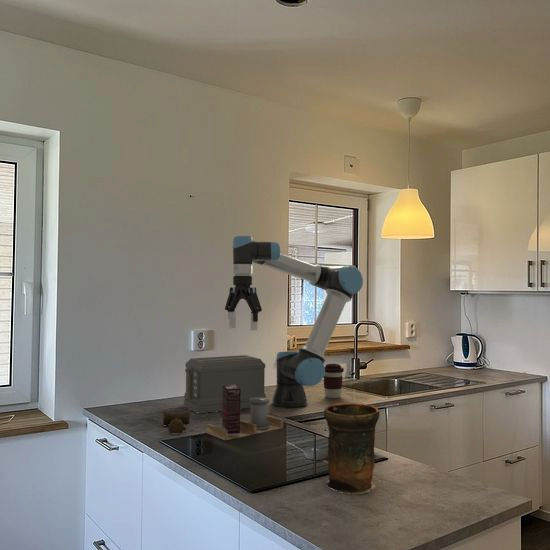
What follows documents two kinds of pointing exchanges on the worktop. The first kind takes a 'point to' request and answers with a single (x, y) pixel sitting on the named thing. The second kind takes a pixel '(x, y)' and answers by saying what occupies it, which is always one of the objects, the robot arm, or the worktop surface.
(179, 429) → the kendama
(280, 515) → the worktop surface
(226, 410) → the supplement box
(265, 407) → the light grey cylinder
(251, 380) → the toaster
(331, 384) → the coffee cup
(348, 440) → the vessel
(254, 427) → the oak rack
